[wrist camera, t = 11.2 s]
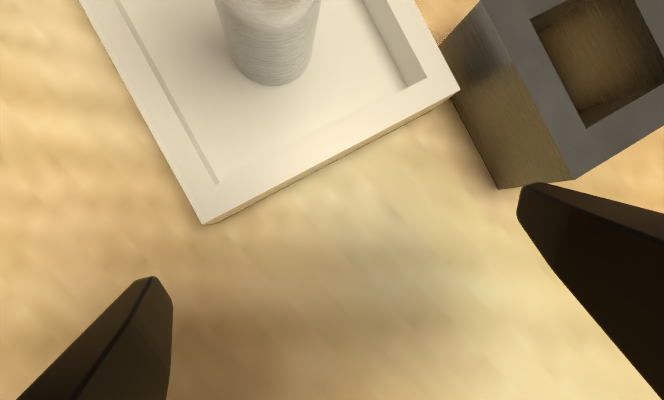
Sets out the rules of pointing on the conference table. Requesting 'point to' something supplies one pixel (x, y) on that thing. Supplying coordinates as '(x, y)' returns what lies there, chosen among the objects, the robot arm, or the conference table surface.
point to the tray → (268, 92)
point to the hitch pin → (270, 37)
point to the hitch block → (557, 83)
